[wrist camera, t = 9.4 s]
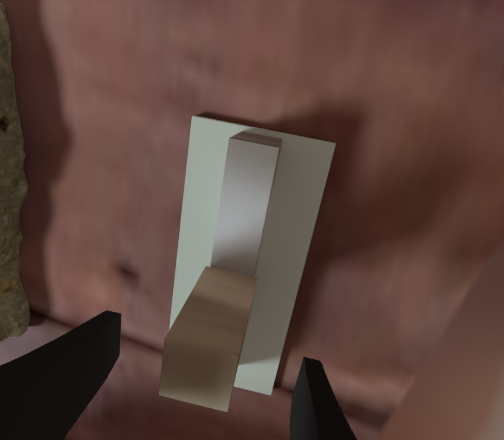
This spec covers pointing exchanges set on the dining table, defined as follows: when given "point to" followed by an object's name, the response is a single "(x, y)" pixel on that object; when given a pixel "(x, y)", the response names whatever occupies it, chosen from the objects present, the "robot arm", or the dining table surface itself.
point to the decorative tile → (10, 195)
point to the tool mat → (274, 239)
